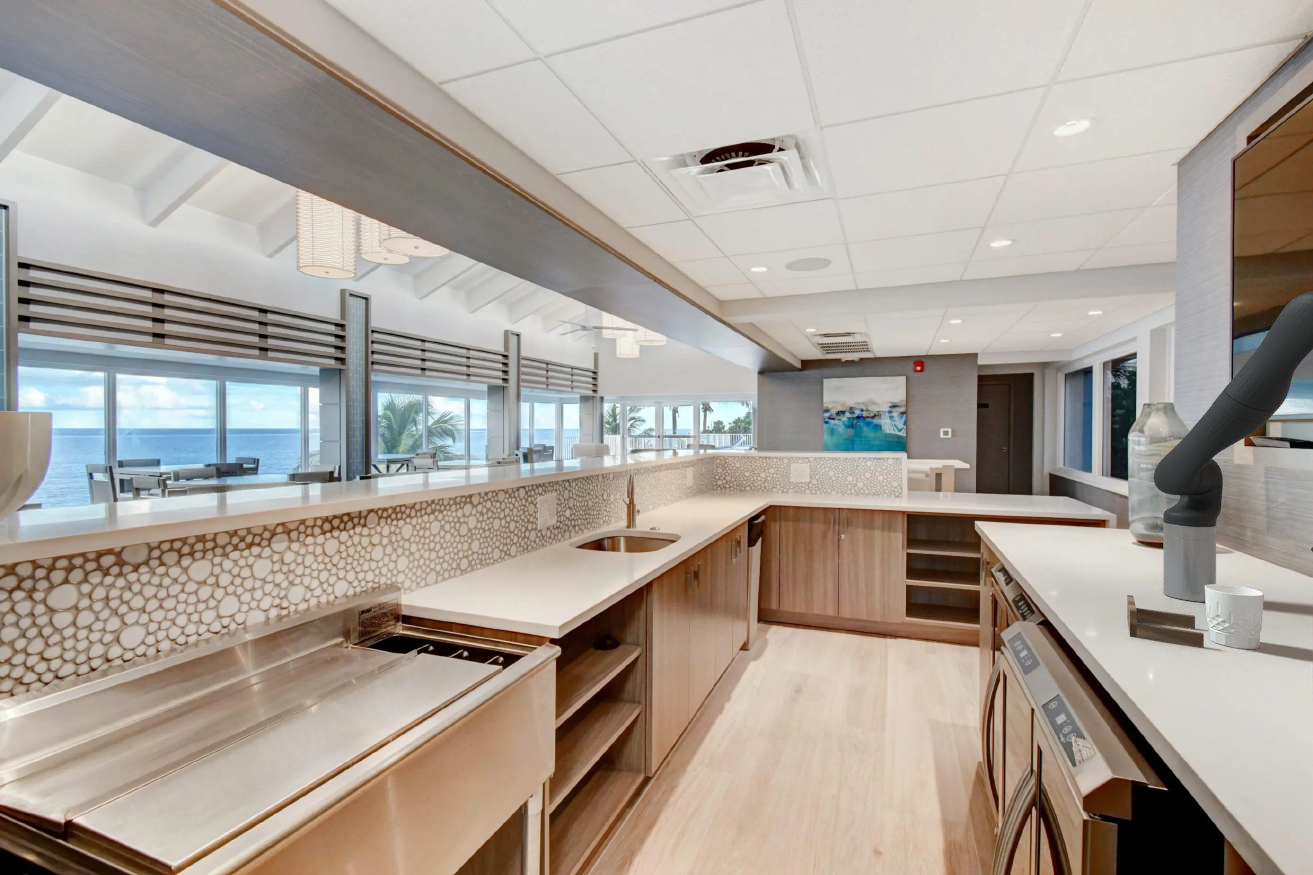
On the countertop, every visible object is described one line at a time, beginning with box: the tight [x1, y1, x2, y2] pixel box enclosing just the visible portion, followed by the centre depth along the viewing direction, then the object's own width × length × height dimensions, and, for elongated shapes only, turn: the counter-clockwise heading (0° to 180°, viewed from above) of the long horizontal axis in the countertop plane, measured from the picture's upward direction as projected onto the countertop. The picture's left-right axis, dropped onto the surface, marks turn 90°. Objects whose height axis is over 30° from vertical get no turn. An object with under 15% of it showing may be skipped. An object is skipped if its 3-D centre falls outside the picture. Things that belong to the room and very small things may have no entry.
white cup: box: [1205, 583, 1265, 650], centre depth 109 cm, size 8×8×10 cm
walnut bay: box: [1126, 594, 1205, 649], centre depth 115 cm, size 13×10×5 cm
